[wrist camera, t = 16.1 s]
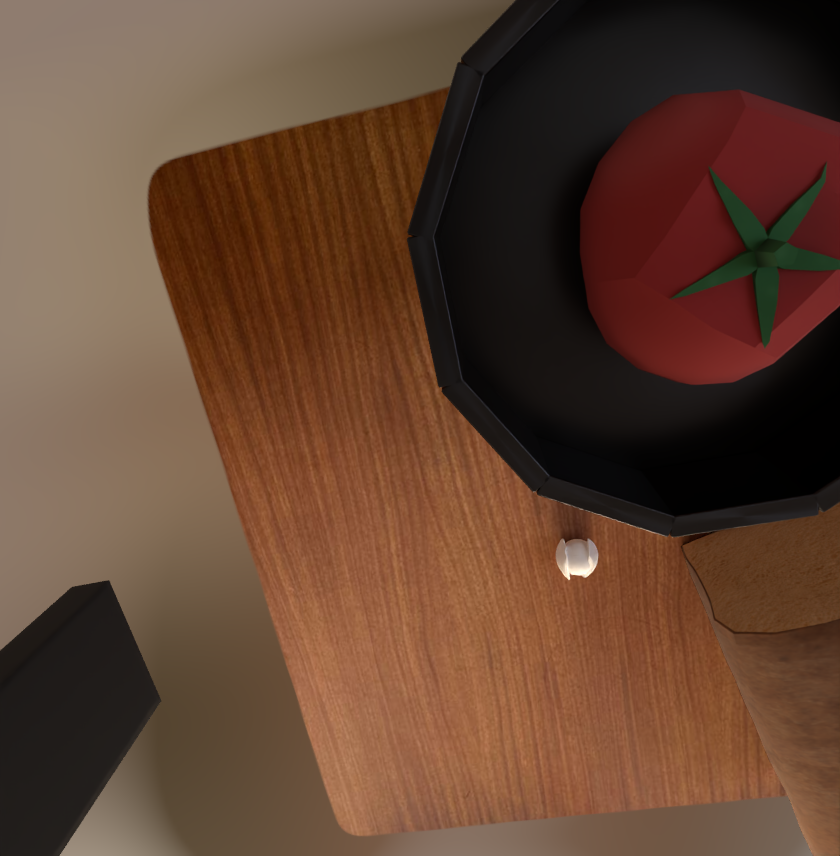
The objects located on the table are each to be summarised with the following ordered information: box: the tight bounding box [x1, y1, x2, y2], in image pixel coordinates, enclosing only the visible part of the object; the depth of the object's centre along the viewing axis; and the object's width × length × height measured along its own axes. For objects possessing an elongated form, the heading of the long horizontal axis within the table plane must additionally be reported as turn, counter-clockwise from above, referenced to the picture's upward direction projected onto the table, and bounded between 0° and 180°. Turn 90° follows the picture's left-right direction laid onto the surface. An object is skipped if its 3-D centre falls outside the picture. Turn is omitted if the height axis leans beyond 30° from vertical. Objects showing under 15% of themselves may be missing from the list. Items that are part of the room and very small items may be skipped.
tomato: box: [580, 89, 840, 385], centre depth 17 cm, size 8×8×7 cm
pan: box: [407, 0, 840, 537], centre depth 32 cm, size 18×29×33 cm, turn 102°
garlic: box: [556, 538, 598, 580], centre depth 55 cm, size 5×3×5 cm
